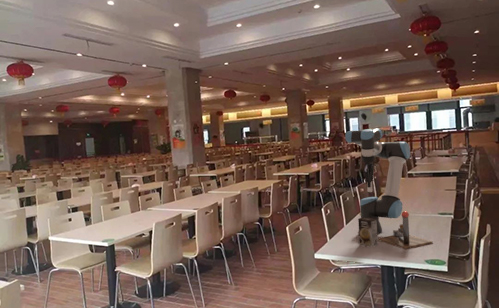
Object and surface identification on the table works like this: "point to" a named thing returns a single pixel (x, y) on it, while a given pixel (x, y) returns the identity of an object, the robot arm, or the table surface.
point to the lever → (405, 235)
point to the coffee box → (368, 232)
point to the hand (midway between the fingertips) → (370, 191)
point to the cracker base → (397, 242)
